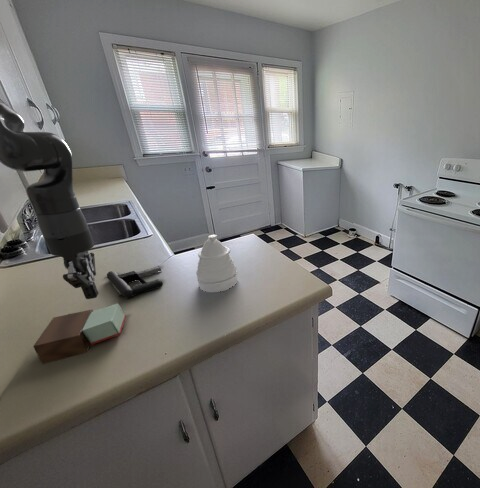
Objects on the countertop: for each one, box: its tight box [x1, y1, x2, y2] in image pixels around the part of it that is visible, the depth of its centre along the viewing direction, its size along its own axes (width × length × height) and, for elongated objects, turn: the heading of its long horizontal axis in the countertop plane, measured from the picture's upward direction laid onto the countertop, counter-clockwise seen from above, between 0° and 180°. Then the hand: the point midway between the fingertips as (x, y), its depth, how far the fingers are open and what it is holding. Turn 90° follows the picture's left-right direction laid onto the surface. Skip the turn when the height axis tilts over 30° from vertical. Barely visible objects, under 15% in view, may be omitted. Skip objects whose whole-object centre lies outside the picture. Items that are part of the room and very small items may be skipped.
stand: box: [33, 309, 94, 364], centre depth 66 cm, size 8×11×5 cm
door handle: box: [105, 265, 164, 299], centre depth 94 cm, size 3×20×16 cm
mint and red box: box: [82, 303, 127, 346], centre depth 69 cm, size 6×8×5 cm
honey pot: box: [195, 234, 239, 293], centre depth 91 cm, size 13×13×18 cm
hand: (92, 297), depth 66 cm, fingers closed
